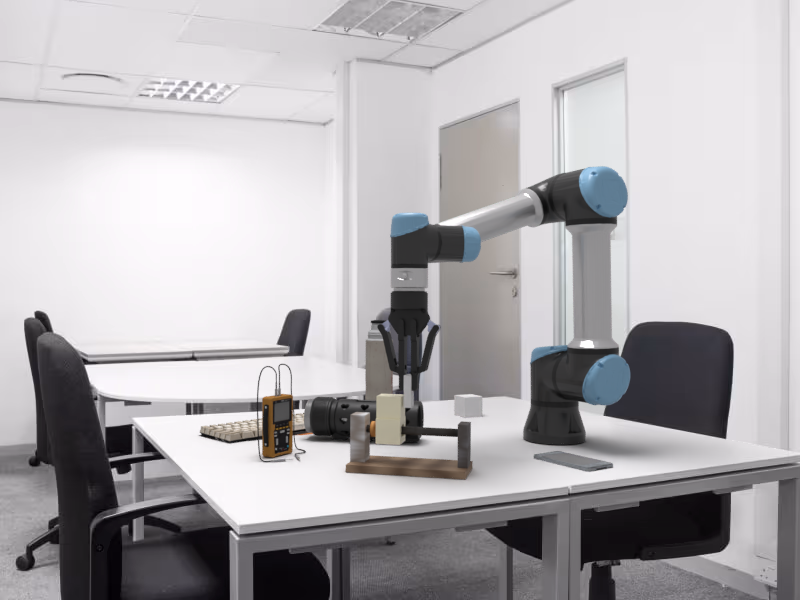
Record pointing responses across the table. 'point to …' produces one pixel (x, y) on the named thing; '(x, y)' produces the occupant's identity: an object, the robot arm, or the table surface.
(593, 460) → the phone
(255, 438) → the mechanical keyboard
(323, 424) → the muzzle brake
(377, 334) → the thermos bottle
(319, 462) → the table surface
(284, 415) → the multimeter
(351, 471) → the twin post axle stand
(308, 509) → the table surface
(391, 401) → the stacked cream cubes
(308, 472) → the table surface
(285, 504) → the table surface
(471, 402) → the white cube
